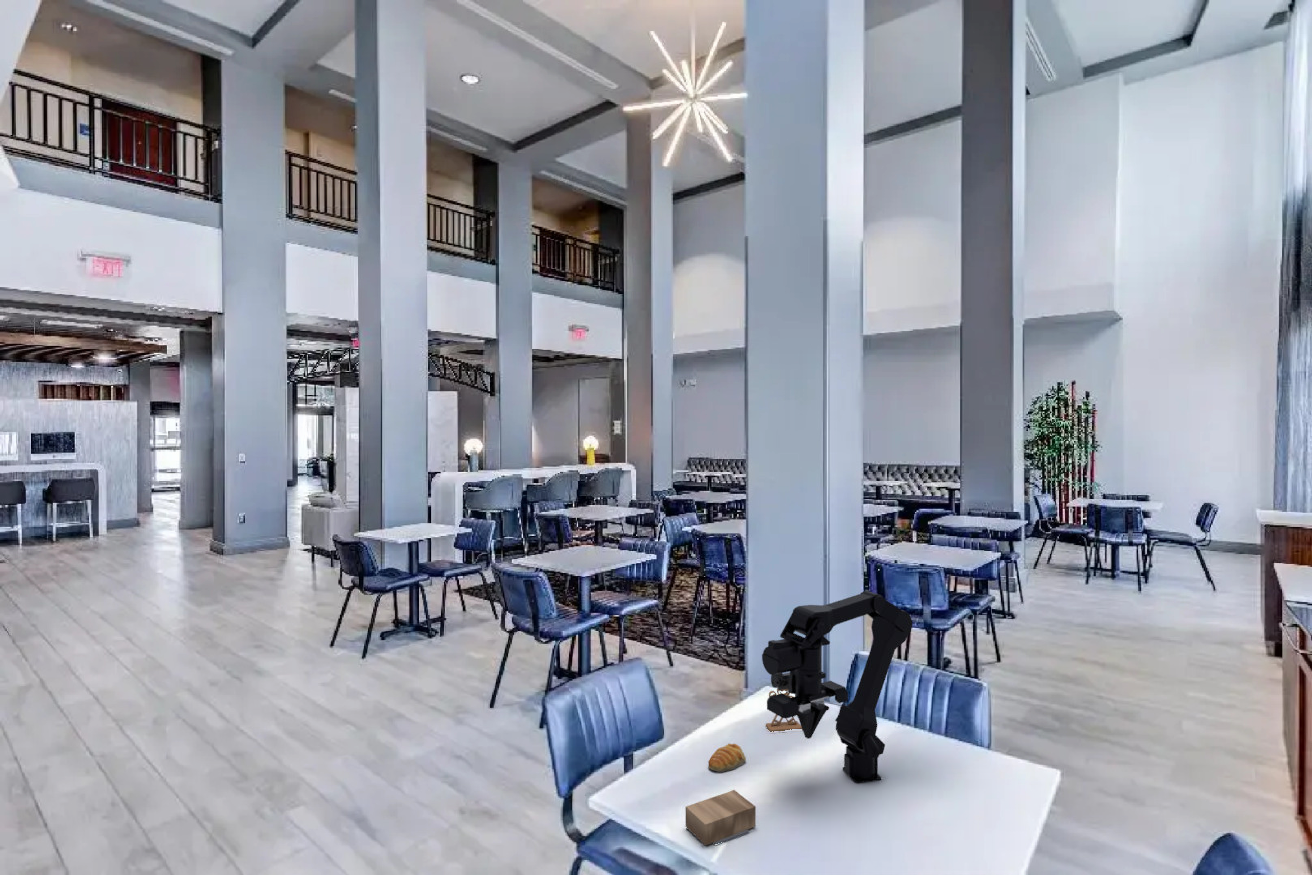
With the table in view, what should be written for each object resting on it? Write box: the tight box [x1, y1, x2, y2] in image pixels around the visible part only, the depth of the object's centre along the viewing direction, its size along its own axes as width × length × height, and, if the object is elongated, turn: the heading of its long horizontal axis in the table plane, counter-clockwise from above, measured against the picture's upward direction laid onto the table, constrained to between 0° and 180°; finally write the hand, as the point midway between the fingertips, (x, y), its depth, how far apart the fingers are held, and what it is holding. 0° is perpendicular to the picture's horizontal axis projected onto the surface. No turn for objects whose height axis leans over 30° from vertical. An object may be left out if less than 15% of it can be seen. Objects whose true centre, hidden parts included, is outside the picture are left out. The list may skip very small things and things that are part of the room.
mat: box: [712, 829, 750, 845], centre depth 134 cm, size 8×8×1 cm
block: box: [685, 789, 757, 846], centre depth 134 cm, size 4×7×12 cm
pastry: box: [708, 743, 747, 773], centre depth 160 cm, size 9×7×4 cm
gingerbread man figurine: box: [765, 687, 802, 732], centre depth 178 cm, size 9×4×12 cm, turn 99°
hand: (807, 737), depth 147 cm, fingers closed
